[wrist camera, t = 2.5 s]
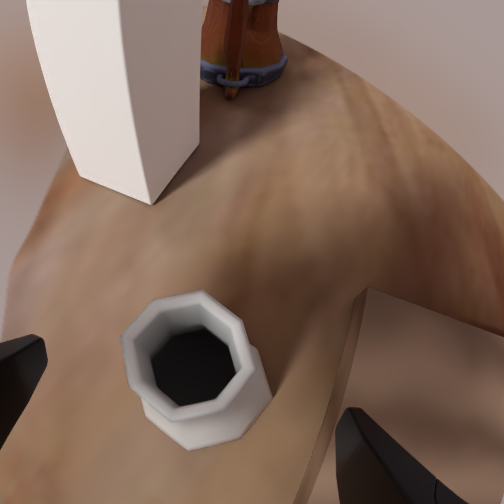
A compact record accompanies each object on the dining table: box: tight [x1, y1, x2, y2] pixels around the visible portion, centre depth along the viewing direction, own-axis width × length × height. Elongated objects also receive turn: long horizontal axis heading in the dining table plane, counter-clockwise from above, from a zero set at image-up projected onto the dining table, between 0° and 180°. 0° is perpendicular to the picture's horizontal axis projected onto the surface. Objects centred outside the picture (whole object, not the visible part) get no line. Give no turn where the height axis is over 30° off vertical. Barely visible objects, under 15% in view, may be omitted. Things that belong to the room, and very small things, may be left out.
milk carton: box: [26, 0, 203, 205], centre depth 14 cm, size 7×7×19 cm
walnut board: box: [293, 287, 504, 504], centre depth 14 cm, size 16×16×2 cm
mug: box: [200, 0, 288, 100], centre depth 23 cm, size 18×12×15 cm, turn 177°
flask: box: [120, 290, 273, 451], centre depth 11 cm, size 7×7×10 cm
